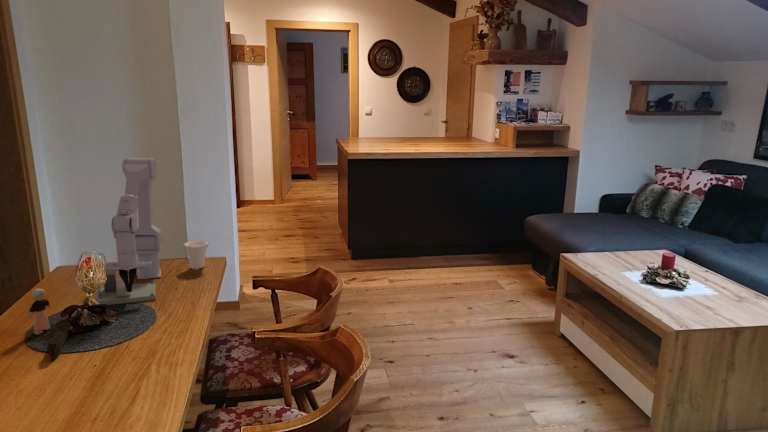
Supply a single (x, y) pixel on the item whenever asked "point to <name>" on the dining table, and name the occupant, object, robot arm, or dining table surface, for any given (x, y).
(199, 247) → the cup
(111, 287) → the dark steel block
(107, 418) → the dining table surface
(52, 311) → the dining table surface
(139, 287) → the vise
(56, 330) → the hand tool
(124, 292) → the sliding jaw
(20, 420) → the dining table surface
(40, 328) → the grandmother figurine
